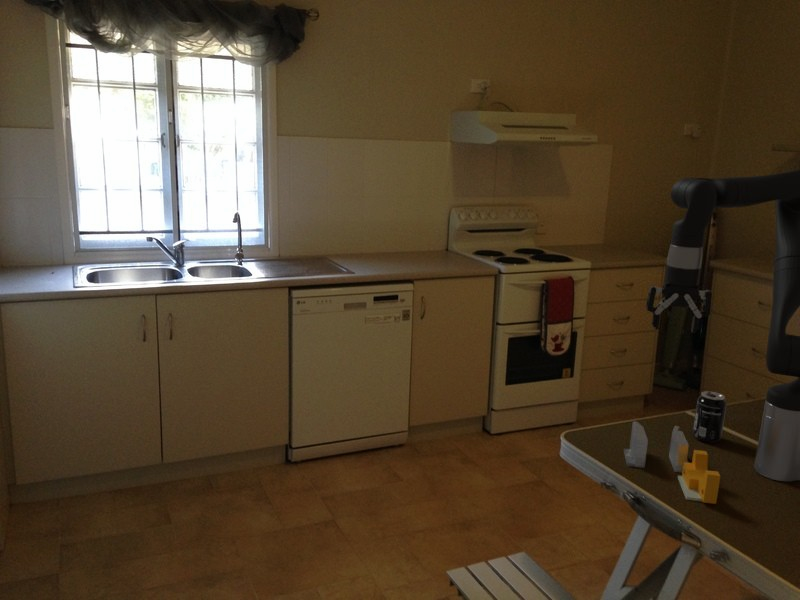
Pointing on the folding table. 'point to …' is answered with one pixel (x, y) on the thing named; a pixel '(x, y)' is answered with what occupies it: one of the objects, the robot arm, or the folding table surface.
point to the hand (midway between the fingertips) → (674, 330)
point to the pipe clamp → (701, 477)
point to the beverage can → (709, 416)
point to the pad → (689, 491)
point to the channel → (639, 448)
